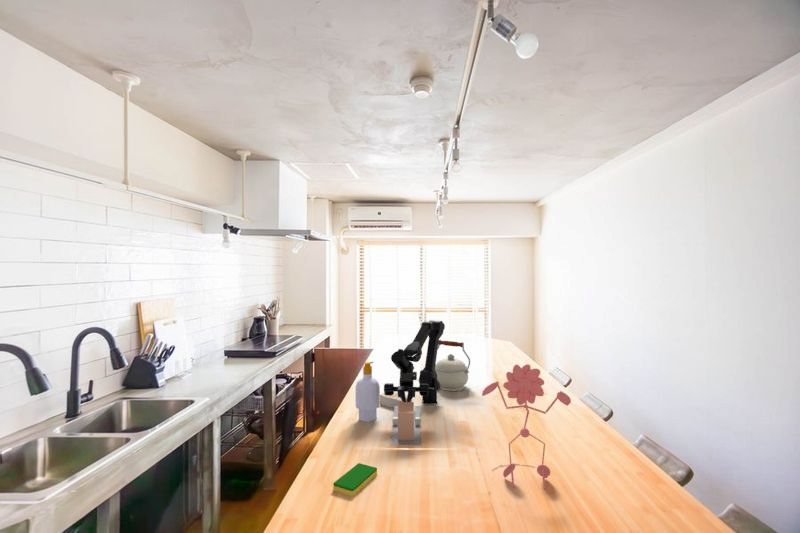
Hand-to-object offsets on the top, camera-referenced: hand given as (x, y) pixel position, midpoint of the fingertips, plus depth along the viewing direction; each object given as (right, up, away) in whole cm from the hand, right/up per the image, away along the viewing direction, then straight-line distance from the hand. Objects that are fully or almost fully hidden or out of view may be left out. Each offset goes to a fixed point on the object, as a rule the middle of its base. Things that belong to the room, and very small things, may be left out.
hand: (406, 408), depth 161 cm
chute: (0, -8, +1) cm, 8 cm away
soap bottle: (-16, -8, +9) cm, 21 cm away
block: (0, -7, -6) cm, 10 cm away
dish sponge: (-16, -8, -40) cm, 44 cm away
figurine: (+36, -8, -37) cm, 53 cm away
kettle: (+24, -8, +55) cm, 60 cm away
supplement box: (-10, -5, +30) cm, 32 cm away
